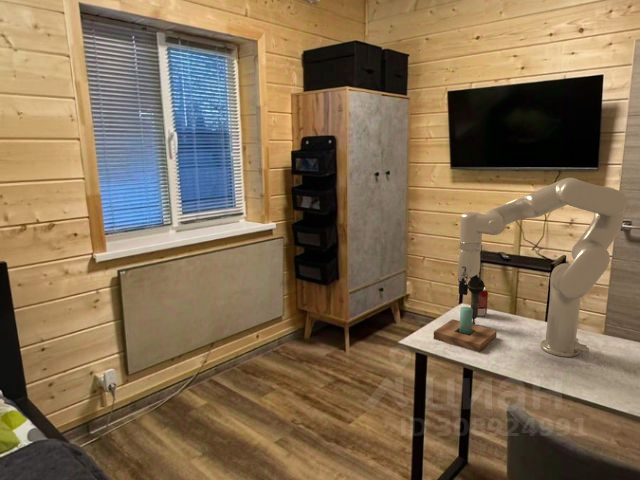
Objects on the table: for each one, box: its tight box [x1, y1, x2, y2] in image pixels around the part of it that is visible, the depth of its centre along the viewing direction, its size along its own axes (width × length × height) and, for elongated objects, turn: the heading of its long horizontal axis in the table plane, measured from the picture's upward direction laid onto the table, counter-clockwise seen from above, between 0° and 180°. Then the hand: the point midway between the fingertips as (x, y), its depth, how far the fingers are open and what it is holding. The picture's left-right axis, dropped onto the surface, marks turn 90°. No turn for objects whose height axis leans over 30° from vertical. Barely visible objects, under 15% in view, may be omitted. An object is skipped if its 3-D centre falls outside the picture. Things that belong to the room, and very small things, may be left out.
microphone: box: [467, 278, 486, 325], centre depth 185 cm, size 7×7×20 cm
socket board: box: [433, 318, 498, 353], centre depth 174 cm, size 18×16×3 cm
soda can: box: [477, 287, 489, 318], centre depth 196 cm, size 7×7×12 cm
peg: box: [459, 306, 473, 336], centre depth 173 cm, size 4×4×12 cm
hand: (468, 290), depth 170 cm, fingers open, 9 cm apart
